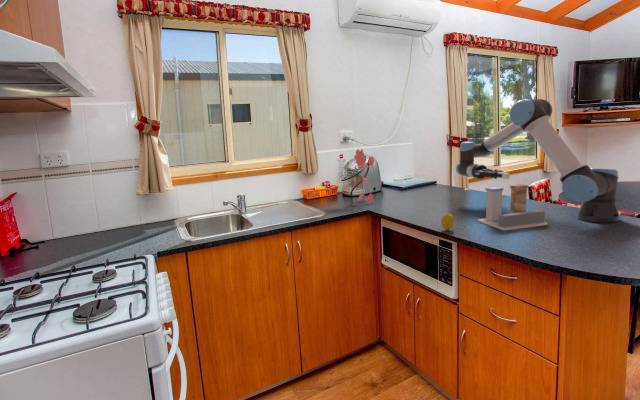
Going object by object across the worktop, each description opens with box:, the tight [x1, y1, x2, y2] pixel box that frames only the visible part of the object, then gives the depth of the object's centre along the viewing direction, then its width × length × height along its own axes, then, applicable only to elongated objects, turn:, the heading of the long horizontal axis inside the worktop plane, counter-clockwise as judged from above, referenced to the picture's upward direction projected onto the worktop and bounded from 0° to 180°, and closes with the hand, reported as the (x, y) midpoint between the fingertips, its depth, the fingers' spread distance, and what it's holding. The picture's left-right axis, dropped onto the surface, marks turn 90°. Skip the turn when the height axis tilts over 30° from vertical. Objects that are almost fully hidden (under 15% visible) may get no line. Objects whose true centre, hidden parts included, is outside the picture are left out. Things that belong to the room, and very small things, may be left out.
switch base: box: [477, 209, 548, 231], centre depth 166 cm, size 18×22×6 cm
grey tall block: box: [485, 186, 504, 221], centre depth 167 cm, size 5×6×15 cm
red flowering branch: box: [351, 148, 376, 207], centre depth 229 cm, size 15×26×35 cm, turn 26°
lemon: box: [440, 212, 455, 231], centre depth 160 cm, size 6×6×8 cm
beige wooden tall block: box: [509, 183, 529, 214], centre depth 169 cm, size 5×6×15 cm
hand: (508, 176), depth 174 cm, fingers closed
